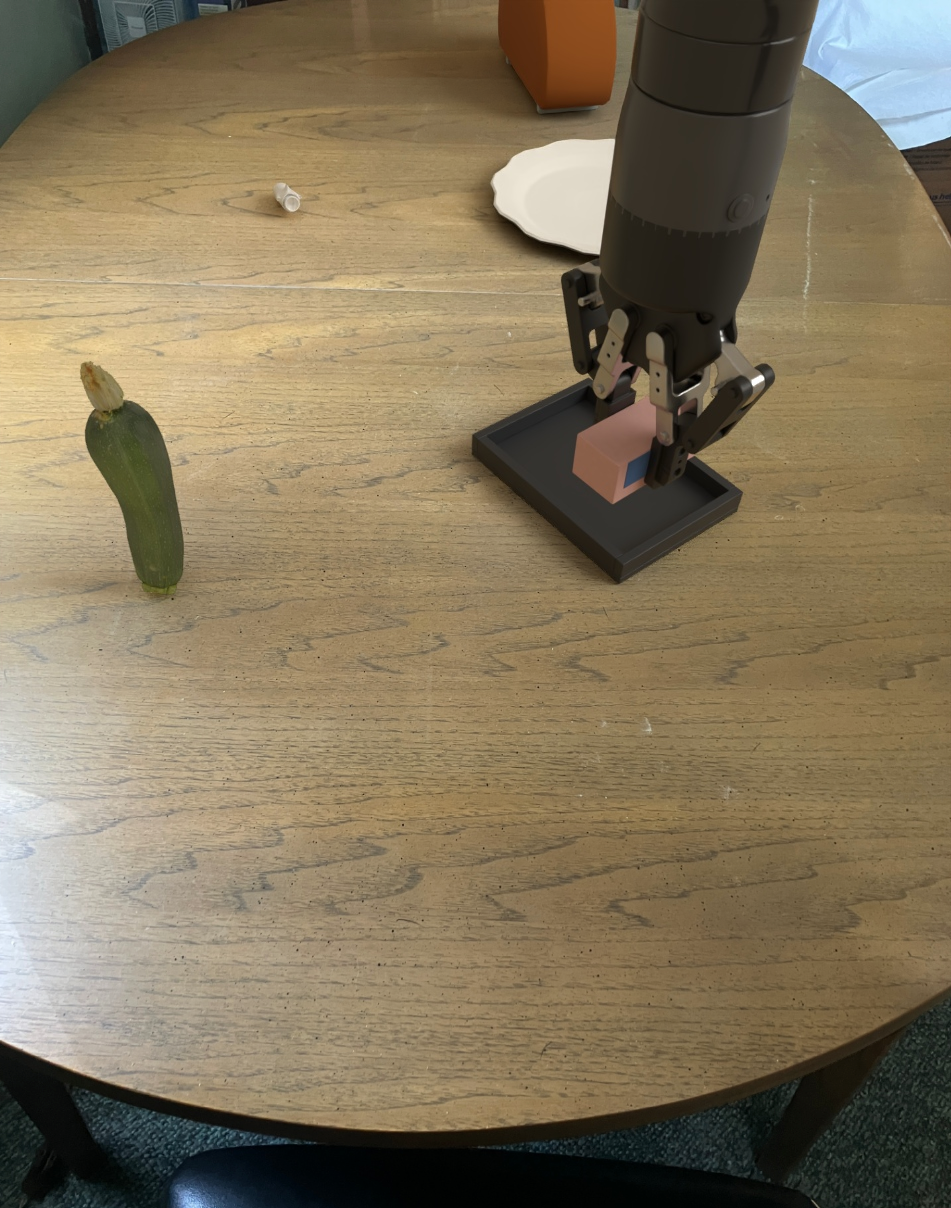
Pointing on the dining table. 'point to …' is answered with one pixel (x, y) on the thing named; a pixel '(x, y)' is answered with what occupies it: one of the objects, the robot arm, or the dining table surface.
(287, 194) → the small white plastic part
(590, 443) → the eraser
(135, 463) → the vegetable
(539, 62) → the alarm clock
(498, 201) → the plate
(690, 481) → the tray
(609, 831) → the dining table surface
